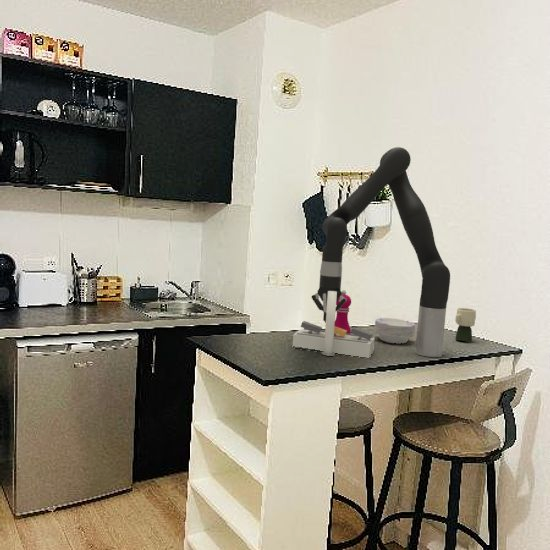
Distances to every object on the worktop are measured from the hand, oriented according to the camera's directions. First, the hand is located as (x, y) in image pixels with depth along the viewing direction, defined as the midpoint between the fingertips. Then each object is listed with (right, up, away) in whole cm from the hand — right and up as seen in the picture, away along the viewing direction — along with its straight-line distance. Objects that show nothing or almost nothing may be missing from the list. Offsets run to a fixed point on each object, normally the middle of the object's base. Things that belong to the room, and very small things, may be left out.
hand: (327, 322), depth 198 cm
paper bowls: (+28, -9, +20) cm, 35 cm away
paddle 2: (+11, -4, -3) cm, 13 cm away
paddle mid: (+3, -4, -1) cm, 5 cm away
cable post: (-1, -10, -8) cm, 13 cm away
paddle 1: (-6, -3, +2) cm, 7 cm away
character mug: (+57, -10, +27) cm, 64 cm away
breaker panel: (+2, -10, 0) cm, 10 cm away
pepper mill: (+6, -9, +11) cm, 15 cm away
